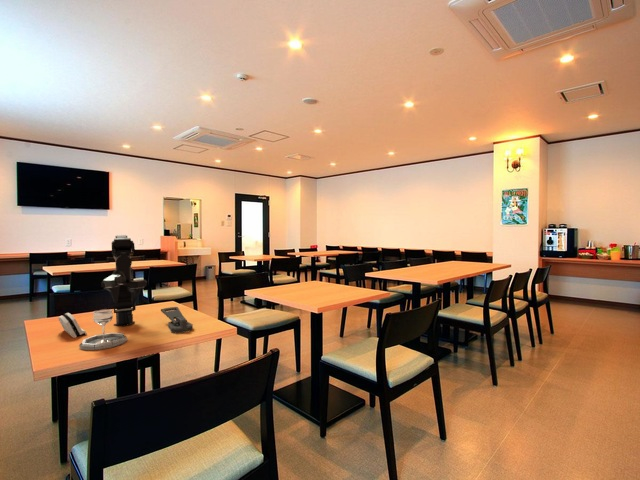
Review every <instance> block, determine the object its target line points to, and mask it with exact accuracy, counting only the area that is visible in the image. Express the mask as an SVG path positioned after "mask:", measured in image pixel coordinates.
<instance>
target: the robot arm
mask: <svg viewBox="0 0 640 480" xmlns="http://www.w3.org/2000/svg"><path fill="white" fill-rule="evenodd" d="M135 252H136V247H135V242H134V241H133V240H131V238H130V237H128V235H126V234H121V235H120V234H119V235H118V234H117V235H115V238H114V239H113V241H112V242H111V254H112V256H113V259H114V260H115V261H114V262H115V269H114V270H113V271H112V274H111V275H109V276H108V277H105V278H104V279H103V280H102V281H101V283H100V285H101V288H103V289H104V290H106V291H107V292H108V293H109V294H110V296H111V298H112V301H113V314H115V319H116V320H115V322H116V323H114V324H113V326H115V327H116V326H118V327H119V326H120V327H126V326H129V325H131V324H134V323H136V321H134V319H133V318H134V315H133V312H135V311H136V310H137V309H136V308H137V307H136V306H137V305H136V302H137V300H138V298H139V295H140V294H141V292H142V290H143V289H145V287H147V286H148V283H147V280H146V279H135V280H134V278H133V277H132V273H133V272H134V269H133V268H132V264H133V261H132V256H131V255H134V253H135Z"/></svg>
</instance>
